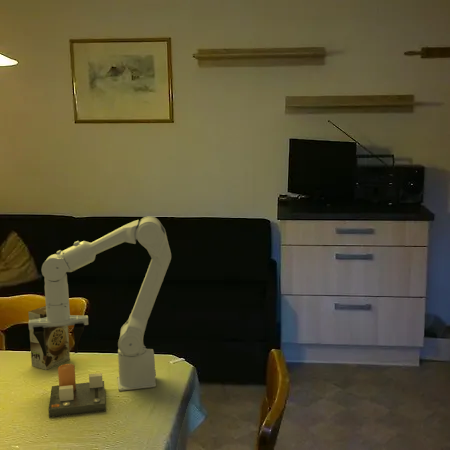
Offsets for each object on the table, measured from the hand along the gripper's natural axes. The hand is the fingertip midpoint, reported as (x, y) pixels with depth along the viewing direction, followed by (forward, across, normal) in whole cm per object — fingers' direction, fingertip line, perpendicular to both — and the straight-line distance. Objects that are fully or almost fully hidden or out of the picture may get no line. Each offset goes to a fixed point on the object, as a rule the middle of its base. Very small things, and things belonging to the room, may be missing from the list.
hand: (60, 353), depth 157 cm
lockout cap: (+7, -2, +6) cm, 10 cm away
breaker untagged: (+7, -8, +6) cm, 13 cm away
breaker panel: (+9, -4, +10) cm, 14 cm away
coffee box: (+10, +4, -18) cm, 21 cm away
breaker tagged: (+7, -2, +12) cm, 14 cm away
